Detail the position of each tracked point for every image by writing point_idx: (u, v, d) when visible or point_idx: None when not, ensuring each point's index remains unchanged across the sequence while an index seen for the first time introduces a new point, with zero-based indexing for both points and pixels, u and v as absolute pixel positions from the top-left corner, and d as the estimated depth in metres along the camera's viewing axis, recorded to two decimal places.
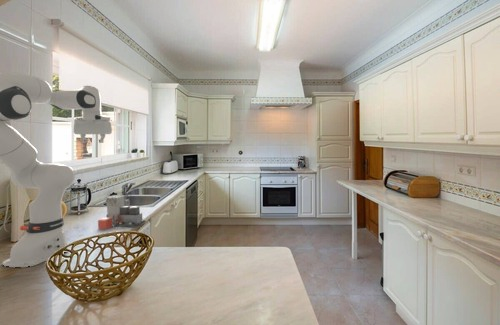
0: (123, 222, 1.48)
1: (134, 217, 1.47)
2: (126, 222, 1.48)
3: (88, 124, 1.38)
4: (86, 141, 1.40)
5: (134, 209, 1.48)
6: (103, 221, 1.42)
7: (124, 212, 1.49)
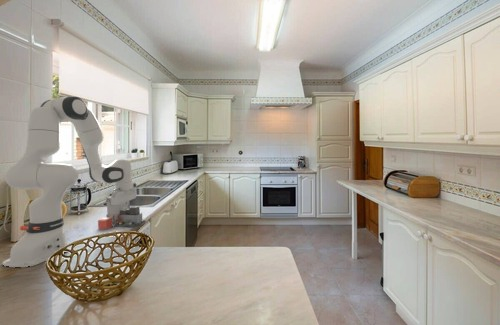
0: (123, 222, 1.48)
1: (134, 217, 1.47)
2: (126, 222, 1.48)
3: (125, 193, 1.49)
4: None
5: (134, 209, 1.48)
6: (103, 221, 1.42)
7: None
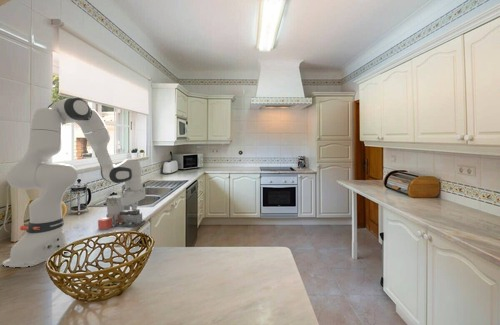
0: (123, 222, 1.48)
1: (134, 217, 1.47)
2: (126, 222, 1.48)
3: (135, 193, 1.49)
4: None
5: (134, 212, 1.48)
6: (103, 221, 1.42)
7: None
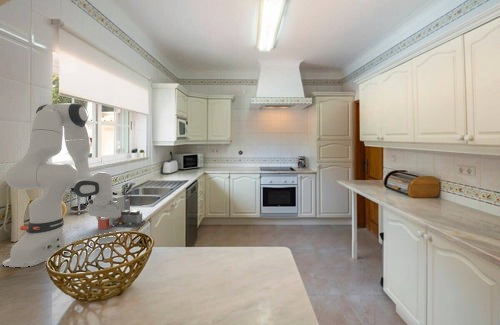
0: (123, 222, 1.48)
1: (134, 217, 1.47)
2: (126, 222, 1.48)
3: None
4: None
5: (134, 213, 1.48)
6: (103, 221, 1.42)
7: None
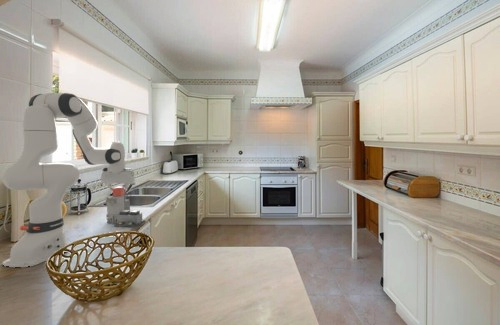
0: (123, 222, 1.48)
1: (134, 217, 1.47)
2: (126, 222, 1.48)
3: None
4: None
5: (134, 213, 1.48)
6: (118, 189, 1.57)
7: None
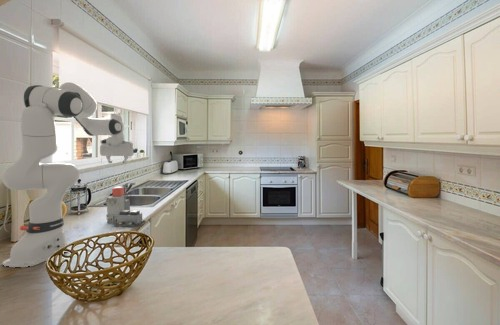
0: (123, 222, 1.48)
1: (134, 217, 1.47)
2: (126, 222, 1.48)
3: None
4: None
5: (134, 213, 1.48)
6: (117, 189, 1.56)
7: None
